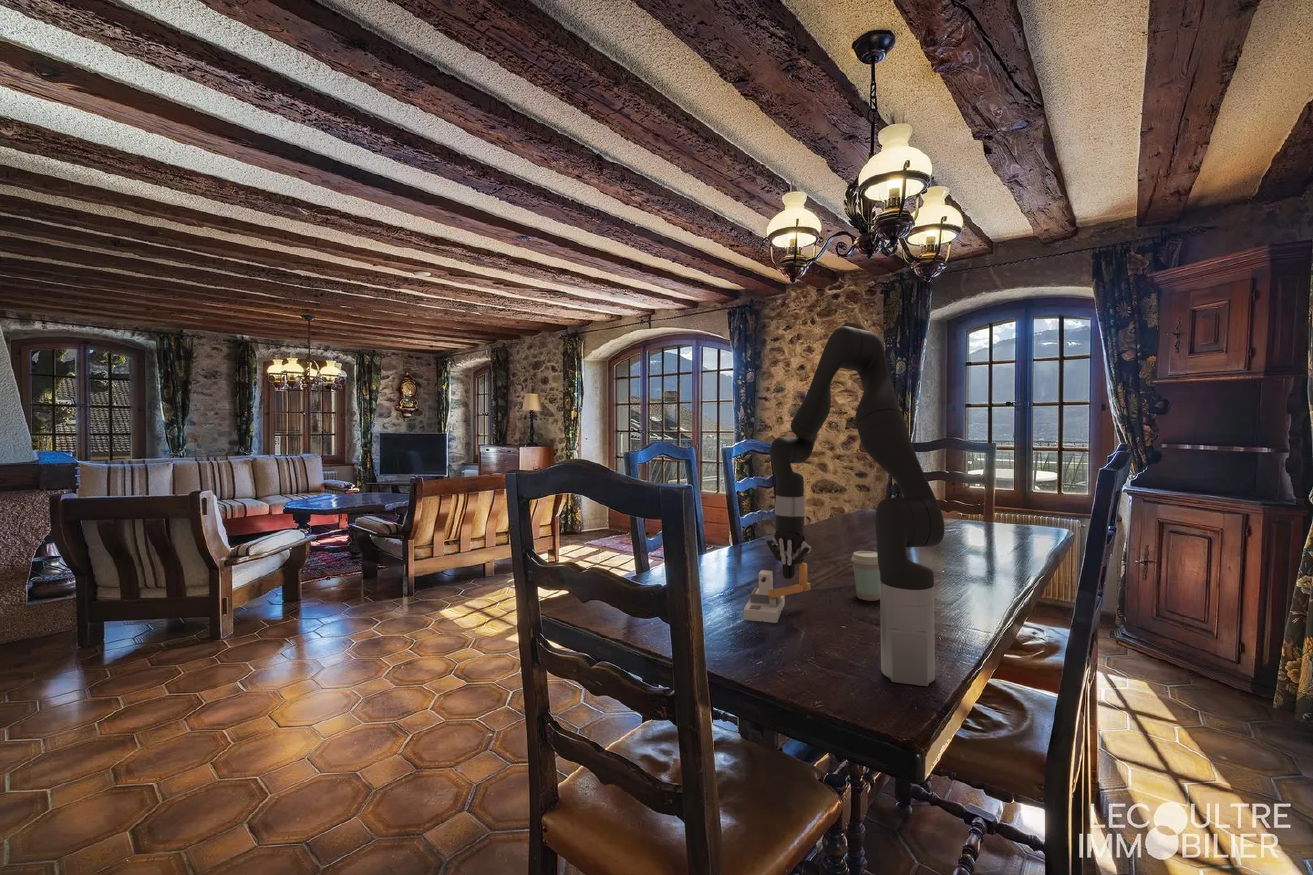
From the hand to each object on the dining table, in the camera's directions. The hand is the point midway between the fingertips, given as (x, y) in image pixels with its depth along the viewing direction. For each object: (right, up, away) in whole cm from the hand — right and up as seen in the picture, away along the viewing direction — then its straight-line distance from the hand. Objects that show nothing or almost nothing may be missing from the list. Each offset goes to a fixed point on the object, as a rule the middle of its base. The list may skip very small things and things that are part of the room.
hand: (788, 578), depth 144 cm
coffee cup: (+23, -7, +6) cm, 25 cm away
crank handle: (-1, -2, -5) cm, 6 cm away
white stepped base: (-7, -7, -4) cm, 11 cm away
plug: (-6, -5, -2) cm, 8 cm away
